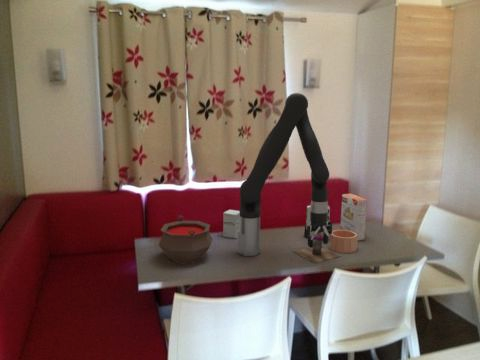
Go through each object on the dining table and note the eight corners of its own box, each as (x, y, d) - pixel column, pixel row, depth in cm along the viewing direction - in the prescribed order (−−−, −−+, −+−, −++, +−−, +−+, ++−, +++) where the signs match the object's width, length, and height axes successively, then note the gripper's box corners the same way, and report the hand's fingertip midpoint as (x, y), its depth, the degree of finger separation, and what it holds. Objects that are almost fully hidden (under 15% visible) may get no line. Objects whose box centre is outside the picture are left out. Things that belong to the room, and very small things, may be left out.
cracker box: (339, 232, 217) (341, 193, 213) (349, 231, 219) (351, 193, 215) (354, 241, 204) (357, 200, 200) (365, 240, 206) (367, 199, 202)
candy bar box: (328, 237, 210) (330, 206, 207) (327, 240, 205) (329, 208, 202) (306, 235, 213) (307, 204, 210) (305, 238, 208) (306, 206, 205)
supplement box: (222, 236, 210) (222, 212, 208) (229, 232, 217) (229, 209, 214) (235, 239, 207) (235, 214, 204) (242, 234, 213) (242, 210, 211)
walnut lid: (315, 264, 177) (315, 250, 176) (293, 253, 190) (293, 239, 189) (340, 258, 185) (341, 244, 184) (318, 247, 197) (318, 234, 196)
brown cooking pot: (154, 251, 190) (153, 216, 187) (205, 245, 198) (204, 211, 195) (164, 271, 168) (163, 232, 165) (220, 263, 176) (220, 226, 173)
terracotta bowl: (342, 254, 187) (343, 239, 186) (324, 246, 197) (325, 232, 196) (361, 249, 193) (362, 235, 192) (343, 242, 203) (343, 228, 202)
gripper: (312, 214, 176) (311, 251, 180) (337, 210, 184) (335, 245, 187) (300, 210, 183) (300, 245, 186) (325, 206, 190) (324, 240, 193)
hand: (317, 245), depth 186 cm, fingers open, 8 cm apart
